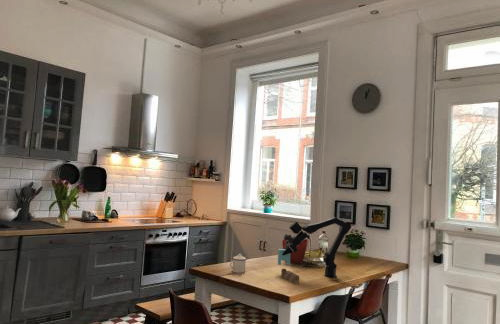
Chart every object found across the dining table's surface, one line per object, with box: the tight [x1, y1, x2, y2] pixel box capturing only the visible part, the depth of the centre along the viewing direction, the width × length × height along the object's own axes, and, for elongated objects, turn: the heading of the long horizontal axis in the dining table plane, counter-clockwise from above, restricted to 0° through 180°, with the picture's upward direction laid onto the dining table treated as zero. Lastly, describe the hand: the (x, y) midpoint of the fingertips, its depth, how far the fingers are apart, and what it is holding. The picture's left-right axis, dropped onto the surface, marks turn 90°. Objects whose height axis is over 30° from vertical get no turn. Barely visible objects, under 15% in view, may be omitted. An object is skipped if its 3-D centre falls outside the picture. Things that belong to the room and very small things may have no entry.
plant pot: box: [281, 238, 309, 264], centre depth 318 cm, size 19×19×17 cm
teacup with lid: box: [229, 253, 247, 274], centre depth 270 cm, size 12×9×12 cm
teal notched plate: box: [277, 248, 291, 266], centre depth 271 cm, size 8×2×10 cm, turn 93°
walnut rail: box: [280, 268, 300, 285], centre depth 254 cm, size 20×2×5 cm, turn 21°
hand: (282, 254), depth 271 cm, fingers closed on teal notched plate, 2 cm apart
